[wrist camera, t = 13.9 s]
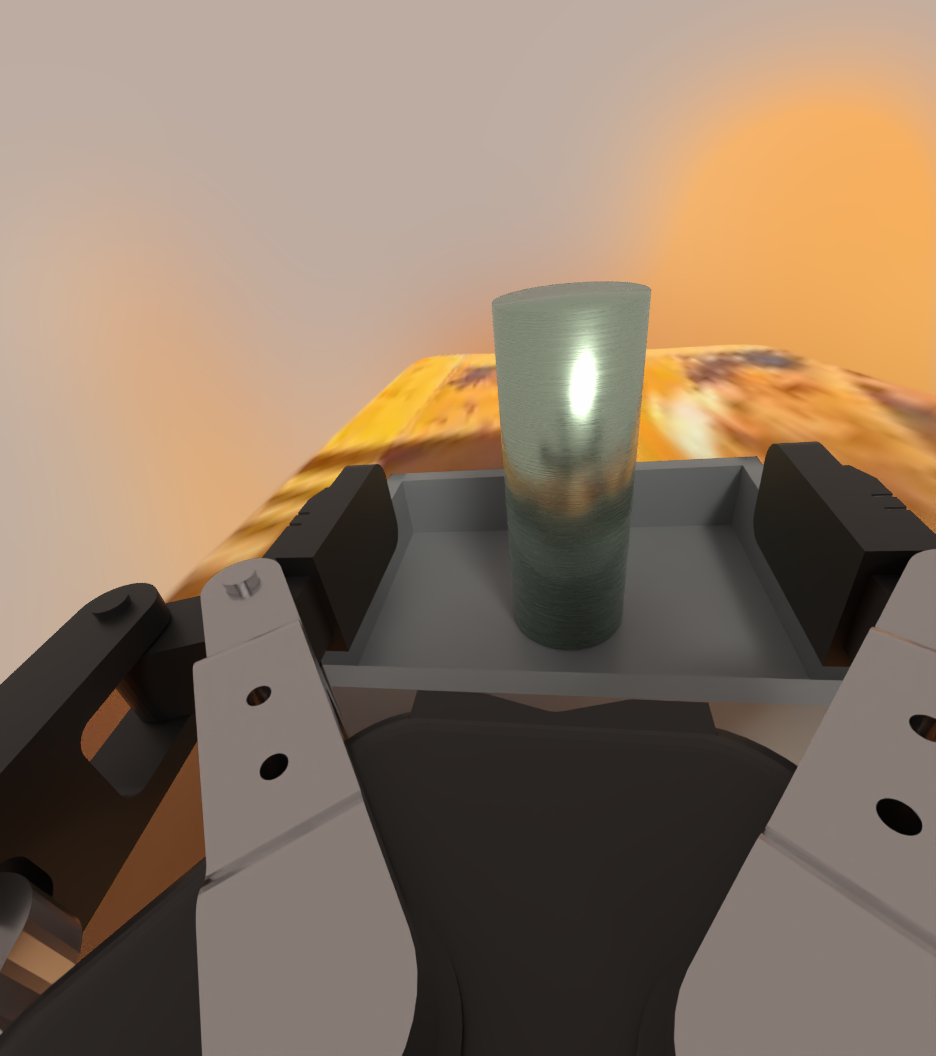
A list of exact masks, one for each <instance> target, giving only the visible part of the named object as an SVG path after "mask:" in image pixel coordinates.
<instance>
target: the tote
mask: <svg viewBox="0 0 936 1056" xmlns="http://www.w3.org/2000/svg"><path fill="white" fill-rule="evenodd" d="M763 467H764V466H763V464H762V463H761V462H760V460H759V459H758V458H757V456H755V457H734V458H714V459H693V460H673V461H653V462H636V469H635V480H634V492H633V503H632V515H631V526H630V537H629V549H628V560H627V572H626V583H625V594H624V606H623V617H622V622H621V625H620V627H619V629H618V630H617V631H616V633H615V634H614V635H613V636H612V637H611V638H609V639H608V640H606V641H605V642H603V643H601V644H599V645H596V646H593V647H589V648H585V649H577V650H566V649H557V648H552V647H549V646H546V645H543V644H540V643H538V642H536V641H534V640H533V639H531V638H530V637H528V636H527V635H526V634H525V633H524V632H523V631H522V630H521V629H520V627H519V626H518V624H517V622H516V620H515V616H514V607H513V593H512V579H511V565H510V551H509V537H508V523H507V509H506V495H505V481H504V469H490V470H469V471H449V472H428V473H408V474H391V476H390V477H389V479H388V481H387V484H388V487H389V491H390V495H391V499H392V503H393V507H394V511H395V515H396V519H397V524H398V543H397V547H396V550H395V552H394V554H393V556H392V558H391V560H390V563H389V565H388V567H387V569H386V571H385V573H384V576H383V578H382V580H381V582H380V584H379V587H378V589H377V591H376V593H375V595H374V597H373V600H372V602H371V604H370V606H369V608H368V610H367V613H366V615H365V617H364V619H363V621H362V623H361V626H360V628H359V630H358V632H357V634H356V637H355V639H354V641H353V643H352V645H351V647H350V650H349V652H346V651H326V652H325V654H324V656H323V658H322V660H321V662H322V664H323V667H324V669H325V672H326V674H327V677H328V679H329V682H330V685H331V687H332V690H333V692H334V695H335V698H336V700H337V703H338V705H339V708H340V711H341V713H342V716H343V719H344V721H345V724H346V726H347V729H348V732H349V734H350V737H352V736H353V735H355V734H356V733H358V732H359V731H361V730H363V729H365V728H367V727H369V726H371V725H372V724H375V723H377V722H380V721H382V720H384V719H387V718H390V717H393V716H396V715H400V714H403V713H408V712H411V710H412V706H413V703H414V700H415V696H416V693H417V690H429V691H452V692H475V693H485V694H489V695H492V696H496V697H500V698H503V699H507V700H510V701H514V702H518V703H521V704H525V705H528V706H532V707H536V708H539V709H543V710H547V711H552V712H559V711H566V710H572V709H577V708H583V707H589V706H594V705H600V704H606V703H611V702H617V701H623V700H628V699H639V700H662V701H685V702H708V703H709V706H710V710H711V713H712V717H713V721H714V724H715V727H716V728H720V729H723V730H727V731H730V732H732V733H735V734H738V735H741V736H743V737H746V738H748V739H750V740H753V741H755V742H757V743H759V744H761V745H763V746H765V747H767V748H769V749H771V750H773V751H774V752H776V753H778V754H780V755H781V756H783V757H785V758H787V759H788V760H790V761H791V762H793V763H794V764H795V765H797V766H798V765H799V763H800V762H801V760H802V758H803V756H804V754H805V752H806V750H807V748H808V746H809V744H810V743H811V741H812V739H813V737H814V735H815V733H816V731H817V729H818V727H819V725H820V723H821V722H822V720H823V718H824V716H825V714H826V712H827V710H828V708H829V706H830V704H831V702H832V701H833V699H834V697H835V695H836V693H837V691H838V689H839V687H840V685H841V683H842V682H843V680H844V678H845V676H846V674H847V672H848V670H849V668H850V667H829V666H822V664H821V662H820V660H819V658H818V656H817V654H816V653H815V651H814V649H813V647H812V645H811V643H810V641H809V639H808V638H807V636H806V634H805V632H804V630H803V628H802V626H801V625H800V623H799V621H798V619H797V617H796V615H795V613H794V611H793V610H792V608H791V606H790V604H789V602H788V600H787V598H786V597H785V595H784V593H783V591H782V589H781V587H780V585H779V583H778V582H777V580H776V578H775V576H774V574H773V572H772V570H771V568H770V567H769V565H768V563H767V561H766V559H765V557H764V555H763V554H762V552H761V550H760V548H759V546H758V544H757V542H756V539H755V535H754V528H753V518H754V510H755V506H756V501H757V496H758V491H759V486H760V481H761V477H762V472H763Z"/></svg>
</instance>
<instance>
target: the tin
mask: <svg viewBox="0 0 936 1056" xmlns="http://www.w3.org/2000/svg"><path fill="white" fill-rule="evenodd" d="M650 298H651V289H650V288H649V287H647V286H645V285H641V284H636V283H628V282H578V283H567V284H556V285H548V286H541V287H535V288H530V289H524V290H520V291H516V292H512V293H509V294H506V295H503V296H500V297H498V298H496V299H495V300H493V302H492V314H493V328H494V342H495V356H496V370H497V384H498V398H499V412H500V426H501V440H502V453H503V467H504V481H505V495H506V509H507V523H508V537H509V551H510V565H511V579H512V593H513V607H514V616H515V620H516V622H517V624H518V626H519V627H520V629H521V630H522V631H523V632H524V633H525V634H526V635H527V636H528V637H530V638H531V639H533V640H534V641H536V642H538V643H540V644H543V645H546V646H549V647H552V648H557V649H566V650H577V649H585V648H589V647H593V646H596V645H599V644H601V643H603V642H605V641H606V640H608V639H609V638H611V637H612V636H613V635H614V634H615V633H616V631H617V630H618V629H619V627H620V625H621V622H622V617H623V606H624V594H625V583H626V572H627V560H628V549H629V537H630V526H631V515H632V503H633V492H634V480H635V469H636V458H637V446H638V435H639V423H640V412H641V401H642V389H643V378H644V366H645V355H646V343H647V332H648V320H649V309H650Z"/></svg>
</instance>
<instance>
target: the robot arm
mask: <svg viewBox="0 0 936 1056" xmlns="http://www.w3.org/2000/svg"><path fill="white" fill-rule="evenodd" d="M753 528H754V535H755V539H756V542H757V544H758V546H759V548H760V550H761V552H762V554H763V555H764V557H765V559H766V561H767V563H768V565H769V567H770V568H771V570H772V572H773V574H774V576H775V578H776V580H777V582H778V583H779V585H780V587H781V589H782V591H783V593H784V595H785V597H786V598H787V600H788V602H789V604H790V606H791V608H792V610H793V611H794V613H795V615H796V617H797V619H798V621H799V623H800V625H801V626H802V628H803V630H804V632H805V634H806V636H807V638H808V639H809V641H810V643H811V645H812V647H813V649H814V651H815V653H816V654H817V656H818V658H819V660H820V662H821V664H822V666H829V667H850V668H849V670H848V672H847V674H846V676H845V678H844V680H843V682H842V683H841V685H840V687H839V689H838V691H837V693H836V695H835V697H834V699H833V701H832V702H831V704H830V706H829V708H828V710H827V712H826V714H825V716H824V718H823V720H822V722H821V723H820V725H819V727H818V729H817V731H816V733H815V735H814V737H813V739H812V741H811V743H810V744H809V746H808V748H807V750H806V752H805V754H804V756H803V758H802V760H801V762H800V763H799V765H798V766H797V765H795V764H794V763H793V762H791V761H790V760H788V759H787V758H785V757H783V756H781V755H780V754H778V753H776V752H774V751H773V750H771V749H769V748H767V747H765V746H763V745H761V744H759V743H757V742H755V741H753V740H750V739H748V738H746V737H743V736H741V735H738V734H735V733H732V732H730V731H727V730H723V729H720V728H716V727H715V724H714V721H713V717H712V713H711V710H710V706H709V703H708V702H685V701H662V700H639V699H628V700H623V701H617V702H611V703H606V704H600V705H594V706H589V707H583V708H577V709H572V710H566V711H559V712H552V711H547V710H543V709H539V708H536V707H532V706H528V705H525V704H521V703H518V702H514V701H510V700H507V699H503V698H500V697H496V696H492V695H489V694H485V693H475V692H452V691H429V690H417V693H416V696H415V700H414V703H413V706H412V710H411V712H408V713H403V714H400V715H396V716H393V717H390V718H387V719H384V720H382V721H380V722H377V723H375V724H372V725H371V726H369V727H367V728H365V729H363V730H361V731H359V732H358V733H356V734H355V735H353V736H352V737H350V734H349V732H348V729H347V726H346V724H345V721H344V719H343V716H342V713H341V711H340V708H339V705H338V703H337V700H336V698H335V695H334V692H333V690H332V687H331V685H330V682H329V679H328V677H327V674H326V672H325V669H324V667H323V664H322V662H321V660H322V658H323V656H324V654H325V652H326V651H346V652H349V650H350V647H351V645H352V643H353V641H354V639H355V637H356V634H357V632H358V630H359V628H360V626H361V623H362V621H363V619H364V617H365V615H366V613H367V610H368V608H369V606H370V604H371V602H372V600H373V597H374V595H375V593H376V591H377V589H378V587H379V584H380V582H381V580H382V578H383V576H384V573H385V571H386V569H387V567H388V565H389V563H390V560H391V558H392V556H393V554H394V552H395V550H396V547H397V543H398V524H397V519H396V515H395V511H394V507H393V503H392V499H391V495H390V491H389V487H388V484H387V480H386V476H385V472H384V470H383V468H382V467H381V466H380V465H379V464H373V465H354V466H346V467H345V468H344V469H343V471H342V472H341V473H340V474H339V476H338V477H337V478H336V480H335V481H334V482H333V484H332V485H331V486H330V487H329V488H325V489H324V490H322V491H321V492H319V493H318V494H316V495H315V496H313V497H312V498H310V499H309V500H308V501H307V503H306V504H305V505H304V506H303V507H302V509H301V510H300V511H299V512H298V515H296V516H295V517H294V519H293V520H292V521H291V522H290V526H287V527H286V529H285V530H284V531H283V532H282V534H281V535H280V536H279V537H278V538H277V540H276V541H275V542H274V543H273V545H272V546H271V547H270V548H269V550H268V551H267V552H266V553H265V555H264V556H263V557H262V558H256V559H249V560H245V561H242V562H239V563H236V564H234V565H231V566H229V567H227V568H225V569H223V570H222V571H220V572H219V573H217V574H216V575H215V576H213V577H212V578H211V579H210V580H209V581H208V582H207V583H206V584H205V586H204V587H203V589H202V592H201V596H197V597H193V598H188V599H184V600H179V601H175V602H170V603H166V604H165V602H164V600H163V599H162V597H161V596H160V594H159V592H158V591H157V589H156V588H155V587H154V586H153V585H151V584H147V583H135V584H130V585H126V586H122V587H119V588H116V589H113V590H111V591H109V592H106V593H104V594H102V595H101V596H99V597H97V598H95V599H94V600H92V601H91V602H89V603H88V604H86V605H85V606H84V607H83V608H82V609H80V610H79V611H78V612H77V613H76V614H75V615H74V616H73V617H72V618H71V619H70V620H69V621H68V622H66V623H65V624H64V625H63V626H62V627H61V628H60V629H59V630H58V631H57V632H56V633H55V634H54V635H53V636H52V637H51V638H49V639H48V640H47V641H46V642H45V643H44V644H43V645H42V646H41V647H40V648H39V649H38V650H37V651H36V652H35V653H34V654H33V655H31V656H30V657H29V658H28V659H27V660H26V661H25V662H24V663H23V664H22V665H21V666H20V667H19V668H18V669H17V670H16V671H14V673H12V674H11V675H10V676H9V677H8V678H7V679H6V680H5V681H4V682H3V683H2V684H1V685H0V1056H936V534H935V533H934V532H933V531H931V530H930V529H929V528H928V527H927V526H926V525H925V524H924V523H923V522H922V521H921V520H920V519H919V518H918V517H917V516H916V515H915V514H914V513H912V512H911V511H910V510H906V506H905V505H904V504H903V503H902V502H901V501H900V500H899V499H898V498H897V497H892V493H891V492H890V491H889V490H888V489H887V488H886V487H885V486H884V485H883V484H882V483H881V482H880V481H879V480H878V479H877V478H875V477H873V476H871V475H869V474H866V473H864V472H862V471H860V470H858V469H856V468H854V467H852V466H850V465H844V466H842V465H841V464H840V463H839V462H838V461H837V460H836V459H835V458H834V457H833V456H832V455H831V454H830V452H829V451H828V450H827V449H826V448H825V447H824V446H823V445H822V444H820V443H819V442H799V443H780V444H772V445H771V446H770V447H769V449H768V451H767V454H766V457H765V462H764V467H763V472H762V477H761V481H760V486H759V491H758V496H757V501H756V506H755V510H754V518H753ZM115 688H116V689H117V690H118V692H119V693H120V694H121V696H122V697H123V698H124V699H125V701H126V702H127V703H128V704H129V706H130V707H131V709H130V710H129V711H128V713H127V714H126V715H125V717H124V718H123V719H122V721H121V722H120V723H119V724H118V726H117V727H116V728H115V730H114V731H113V732H112V734H111V735H110V736H109V738H108V739H107V740H106V742H105V743H104V744H103V745H102V747H101V748H100V749H99V751H98V752H97V753H96V755H95V756H94V757H93V759H92V760H91V761H90V762H89V761H88V760H87V759H86V758H85V756H84V755H83V753H82V750H81V736H82V732H83V730H84V728H85V726H86V724H87V722H88V721H89V720H90V718H91V717H92V716H93V715H94V714H95V712H96V711H97V710H98V709H99V707H100V706H101V705H102V704H103V703H104V701H105V700H106V699H107V698H108V697H109V695H110V694H111V693H112V692H113V690H114V689H115ZM197 740H198V752H199V766H200V780H201V794H202V808H203V822H204V836H205V850H206V857H204V858H203V859H202V860H201V861H200V862H198V863H197V864H196V865H195V866H194V867H192V868H191V869H190V870H189V871H188V872H186V873H185V874H184V875H183V876H182V877H180V878H179V879H178V880H177V881H176V882H174V883H173V884H172V885H171V886H170V887H168V888H167V889H166V890H165V891H164V892H162V893H161V894H160V895H159V896H158V897H156V898H155V899H154V900H153V901H152V902H150V903H149V904H148V905H147V906H146V907H144V908H143V909H142V910H141V911H140V912H138V913H137V914H136V915H135V916H134V917H132V918H131V919H130V920H129V921H128V922H126V923H125V924H124V925H123V926H122V927H120V928H119V929H118V930H117V931H116V932H114V933H113V934H112V935H111V936H110V937H108V938H107V939H106V940H105V941H104V942H102V943H101V944H100V945H99V946H98V947H96V948H95V949H94V950H93V951H92V952H90V953H89V954H88V955H87V956H86V957H84V958H83V959H82V960H81V961H80V962H78V963H77V964H76V962H77V959H78V956H79V953H80V949H81V944H82V933H83V931H84V930H85V928H86V926H87V925H88V923H89V921H90V920H91V918H92V916H93V915H94V913H95V911H96V910H97V908H98V906H99V905H100V903H101V901H102V900H103V898H104V896H105V895H106V893H107V891H108V890H109V888H110V886H111V885H112V883H113V881H114V879H115V878H116V876H117V874H118V873H119V871H120V869H121V868H122V866H123V864H124V863H125V861H126V859H127V858H128V856H129V854H130V853H131V851H132V849H133V848H134V846H135V844H136V843H137V841H138V839H139V838H140V836H141V834H142V833H143V831H144V829H145V828H146V826H147V824H148V823H149V821H150V819H151V817H152V816H153V814H154V812H155V811H156V809H157V807H158V806H159V804H160V802H161V801H162V799H163V797H164V796H165V794H166V792H167V791H168V789H169V787H170V786H171V784H172V782H173V781H174V779H175V777H176V776H177V774H178V772H179V771H180V769H181V767H182V766H183V764H184V762H185V760H186V759H187V757H188V755H189V754H190V752H191V750H192V749H193V747H194V745H195V744H196V742H197Z"/></svg>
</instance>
